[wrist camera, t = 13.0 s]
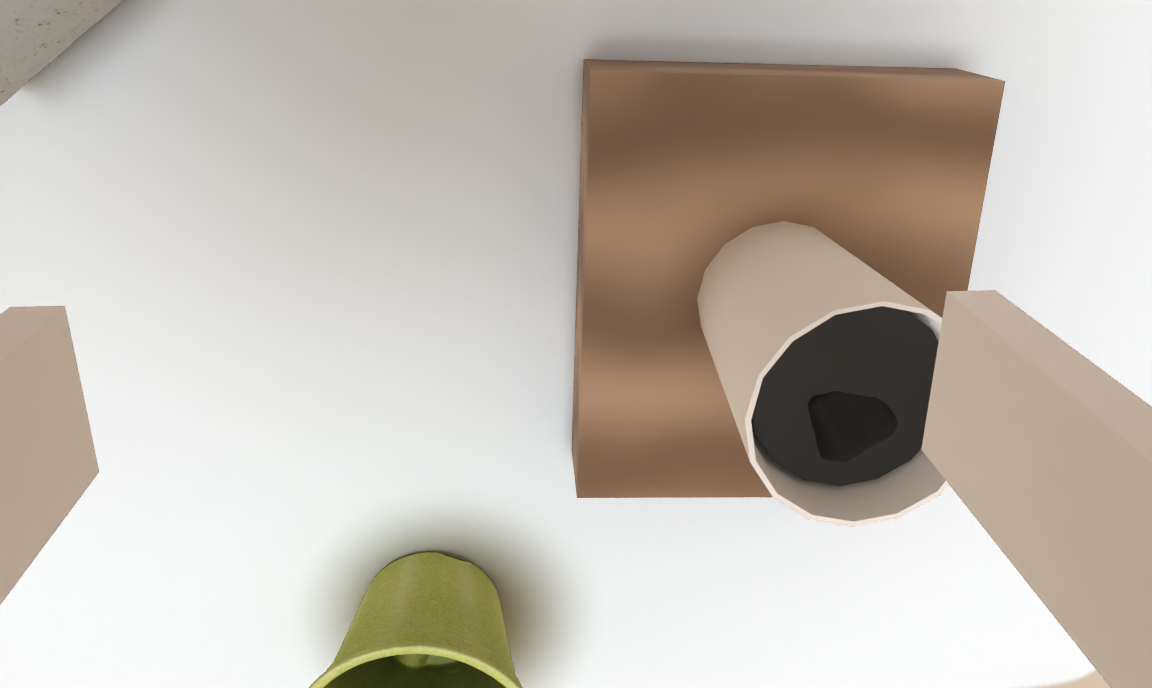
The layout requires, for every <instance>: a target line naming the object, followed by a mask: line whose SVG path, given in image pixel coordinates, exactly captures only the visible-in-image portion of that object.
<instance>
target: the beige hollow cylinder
mask: <svg viewBox="0 0 1152 688" xmlns="http://www.w3.org/2000/svg"><path fill="white" fill-rule="evenodd" d="M697 301H698V309H699V316H700V323H701V329H702V331H703V334H704V336H705V339H706V342H707V345H708V347H709V350H710V353H711V356H712V358H713V361H714V364H715V367H716V370H717V372H718V375H719V378H720V381H721V383H722V386H723V389H724V392H725V394H726V397H727V400H728V403H729V405H730V408H731V411H732V414H733V416H734V419H735V422H736V425H737V427H738V430H739V433H740V436H741V438H742V441H743V444H744V447H745V450H746V452H747V455H748V458H749V461H750V463H751V464H752V466H753V467H754V469H755V471H756V472H757V474H758V475H759V477H760V478H761V480H762V481H763V483H764V484H765V486H766V487H767V489H768V490H769V492H770V494H771V495H772V497H774V498H775V499H777V500H778V501H780V502H782V503H783V504H785V505H786V506H788V507H790V508H791V509H793V510H794V511H796V512H798V513H799V514H801V515H803V516H804V517H806V518H807V519H810V520H816V521H822V522H828V523H834V524H840V525H846V526H852V527H853V526H859V525H864V524H870V523H875V522H881V521H886V520H891V519H897V518H900V517H901V516H903V515H905V514H907V513H909V512H911V511H912V510H914V509H916V508H918V507H920V506H921V505H923V504H925V503H927V502H929V501H930V500H932V499H934V498H936V497H938V496H939V495H941V494H942V492H943V491H944V490H945V489H946V488H947V487H948V486H949V484H948V482H947V481H946V480H945V479H944V477H943V476H942V475H941V474H940V472H939V471H938V470H937V469H936V467H935V466H934V465H933V464H932V462H931V461H930V460H929V458H928V457H927V456H926V455H925V453H924V452H923V451H922V450H921V449H922V442H923V436H924V430H925V424H926V417H927V411H928V405H929V399H930V393H931V386H932V380H933V374H934V368H935V361H936V355H937V349H938V343H939V337H940V330H941V324H942V318H941V317H940V316H938V315H937V314H935V313H934V312H933V311H931V310H930V309H928V308H927V307H926V306H924V305H923V304H921V303H920V302H919V301H917V300H916V299H914V298H913V297H912V296H910V295H909V294H907V293H906V292H904V291H903V290H902V289H900V288H899V287H897V286H896V285H895V284H893V283H892V282H890V281H889V280H888V279H886V278H885V277H883V276H882V275H881V274H879V273H878V272H876V271H875V270H874V269H872V268H871V267H869V266H868V265H866V264H865V263H864V262H862V261H861V260H859V259H858V258H857V257H855V256H854V255H852V254H851V253H850V252H848V251H847V250H845V249H844V248H843V247H841V246H840V245H838V244H837V243H836V242H834V241H833V240H831V239H830V238H829V237H827V236H826V235H824V234H823V233H822V232H820V231H819V230H818V229H816V228H815V227H811V226H806V225H801V224H796V223H791V222H786V221H782V222H776V223H771V224H766V225H760V226H755V227H752V228H750V229H748V230H747V231H745V232H744V233H742V234H740V235H739V236H737V237H735V238H734V239H732V240H731V241H729V242H727V243H726V244H724V246H723V247H722V248H721V250H720V251H719V252H718V254H717V255H716V256H715V258H714V259H713V260H712V261H711V263H710V264H709V265H708V267H707V268H706V269H705V273H704V276H703V280H702V283H701V287H700V291H699V294H698V298H697Z"/></svg>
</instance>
